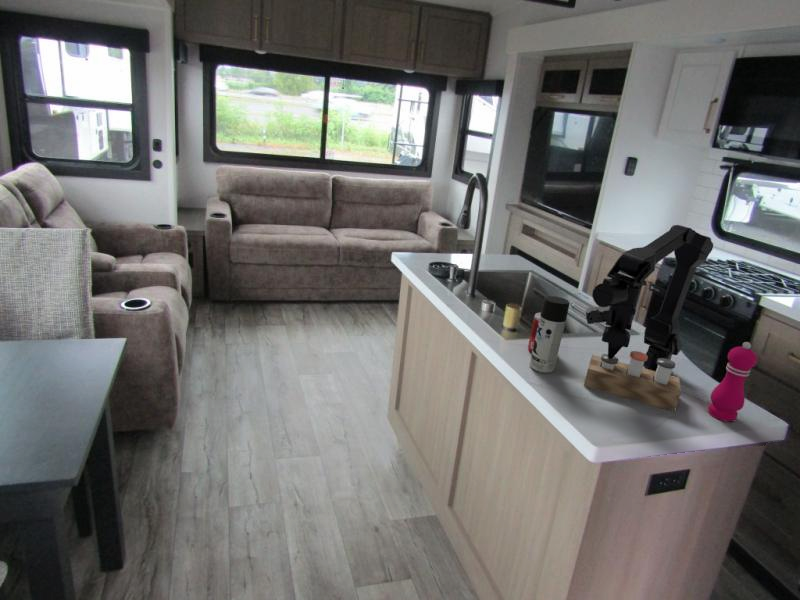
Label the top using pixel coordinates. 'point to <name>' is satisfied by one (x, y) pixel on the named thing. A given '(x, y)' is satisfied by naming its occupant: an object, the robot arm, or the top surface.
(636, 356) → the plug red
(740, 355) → the pepper mill
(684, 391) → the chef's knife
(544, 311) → the spray can
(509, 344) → the top surface
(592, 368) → the socket board
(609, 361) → the plug
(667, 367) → the plug
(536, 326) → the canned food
